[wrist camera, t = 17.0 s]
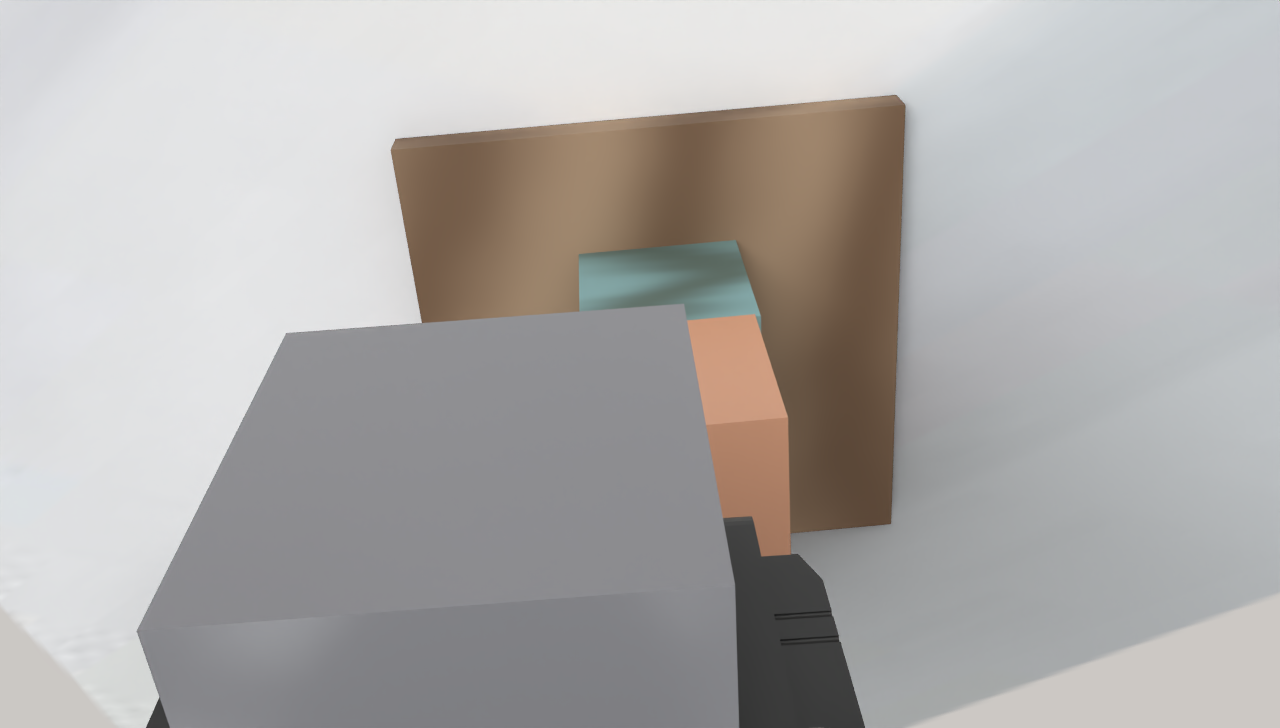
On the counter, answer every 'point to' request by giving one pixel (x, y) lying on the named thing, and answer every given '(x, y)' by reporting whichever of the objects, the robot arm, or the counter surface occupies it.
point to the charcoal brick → (460, 537)
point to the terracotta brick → (745, 425)
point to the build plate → (695, 193)
